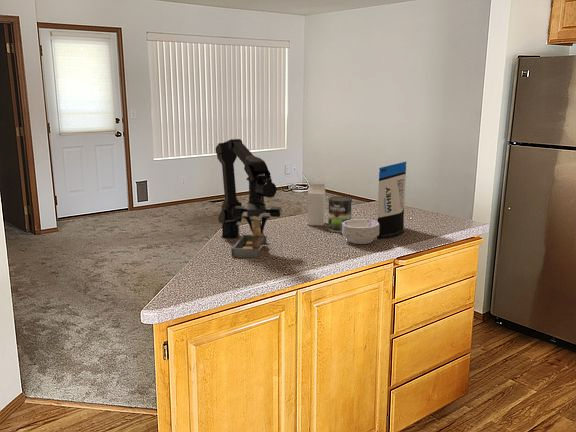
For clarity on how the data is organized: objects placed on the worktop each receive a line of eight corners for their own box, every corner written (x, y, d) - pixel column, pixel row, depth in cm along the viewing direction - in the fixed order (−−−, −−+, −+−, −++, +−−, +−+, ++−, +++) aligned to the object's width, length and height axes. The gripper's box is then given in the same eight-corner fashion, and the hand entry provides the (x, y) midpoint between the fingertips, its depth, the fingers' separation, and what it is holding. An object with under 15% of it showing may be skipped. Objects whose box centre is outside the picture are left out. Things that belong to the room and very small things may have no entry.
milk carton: (322, 226, 243) (323, 185, 238) (307, 225, 244) (307, 184, 240) (325, 222, 249) (325, 182, 245) (310, 221, 251) (310, 182, 246)
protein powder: (412, 229, 236) (416, 162, 229) (387, 241, 218) (390, 168, 211) (393, 226, 242) (396, 160, 235) (366, 237, 223) (369, 166, 216)
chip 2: (241, 255, 202) (241, 250, 201) (243, 251, 206) (243, 246, 206) (252, 255, 201) (252, 250, 201) (254, 251, 206) (254, 246, 205)
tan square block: (245, 248, 210) (245, 243, 210) (247, 245, 214) (247, 240, 214) (256, 248, 210) (256, 244, 209) (258, 245, 214) (258, 240, 213)
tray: (231, 256, 199) (231, 248, 198) (242, 241, 218) (242, 234, 217) (257, 257, 198) (257, 249, 197) (266, 242, 217) (266, 235, 216)
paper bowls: (335, 238, 222) (335, 220, 220) (366, 234, 228) (366, 216, 226) (353, 248, 208) (354, 229, 207) (386, 244, 214) (387, 225, 212)
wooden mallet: (251, 248, 200) (248, 224, 198) (258, 239, 214) (255, 216, 212) (259, 248, 200) (256, 223, 198) (265, 238, 213) (262, 215, 211)
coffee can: (347, 233, 230) (348, 201, 227) (324, 231, 234) (325, 199, 231) (353, 227, 239) (354, 197, 236) (332, 225, 243) (332, 195, 240)
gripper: (227, 197, 196) (228, 237, 199) (277, 198, 193) (278, 239, 197) (234, 191, 206) (235, 230, 210) (281, 192, 204) (282, 231, 208)
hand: (257, 232), depth 206 cm, fingers closed on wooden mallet, 3 cm apart
